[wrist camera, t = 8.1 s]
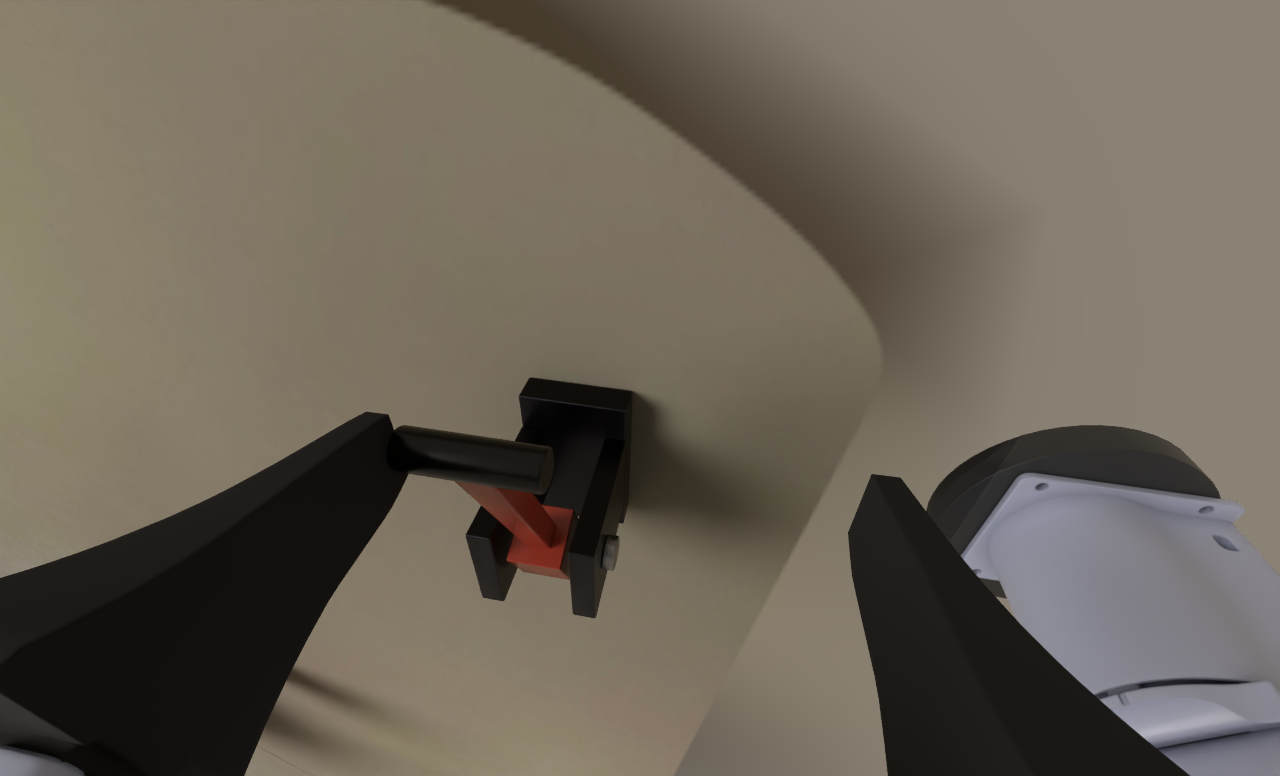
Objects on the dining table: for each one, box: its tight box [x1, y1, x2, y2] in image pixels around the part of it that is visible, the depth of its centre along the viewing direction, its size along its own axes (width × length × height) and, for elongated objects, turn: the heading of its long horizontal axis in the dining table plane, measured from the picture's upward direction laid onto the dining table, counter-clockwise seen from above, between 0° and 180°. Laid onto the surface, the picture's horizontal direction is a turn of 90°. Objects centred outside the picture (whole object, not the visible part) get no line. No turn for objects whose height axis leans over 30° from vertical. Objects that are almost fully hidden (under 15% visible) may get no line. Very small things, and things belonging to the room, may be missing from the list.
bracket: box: [466, 378, 632, 618], centre depth 23 cm, size 8×6×8 cm
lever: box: [387, 425, 579, 580], centre depth 18 cm, size 12×4×2 cm, turn 178°
